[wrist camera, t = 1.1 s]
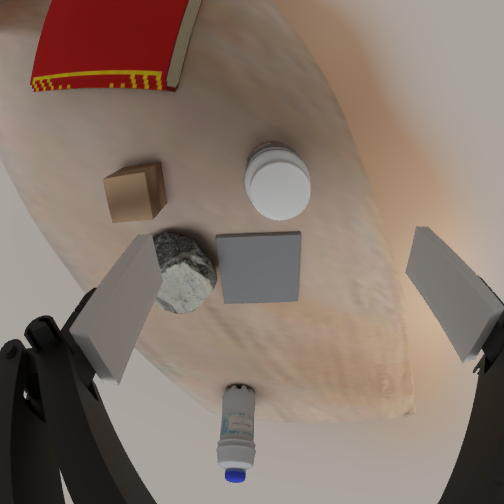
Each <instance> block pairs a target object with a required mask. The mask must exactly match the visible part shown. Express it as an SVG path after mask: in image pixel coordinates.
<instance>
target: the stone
mask: <svg viewBox="0 0 504 504" xmlns="http://www.w3.org/2000/svg"><path fill="white" fill-rule="evenodd" d="M153 242H154V246H155V251H156V255H157V259H158V263H159V267H160V271H161V275H162V279H163V283H162V285H161V287H160V289H159V291H158V293H157V296H156V298H155V300H154V303H156V304H157V305H158V306H159V307H161V308H162V309H164V310H166V311H170V312H173V313H176V314H185V313H190V312H193V311H194V310H195V309H197V308H198V307H199V306H200V305H201V304H202V303H203V301H204V300H205V299H206V298H207V297H208V295H209V294H210V293H211V292H212V290H213V289H214V287H215V284H216V282H217V273H216V270H215V268H214V267H213V266H212V264H211V262H210V259H209V258H207V257H206V256H205V255H204V254H203V253H202V252H201V250H200V249H199V248H198V246H197V243H196V241H195V240H193V239H191V238H188V237H184V236H180V235H179V234H176V233H175V234H173V233H167V232H165V233H162V234H160V235H158V236H157V237H155V238H153Z"/></svg>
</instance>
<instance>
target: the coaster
mask: <svg viewBox="0 0 504 504" xmlns="http://www.w3.org/2000/svg"><path fill="white" fill-rule="evenodd" d="M216 246H217V253H218V261H219V268H220V276H221V283H222V290H223V297H224V304H231V303H268V302H292V301H298V290H299V270H300V246H301V234H300V232H279V233H252V234H228V235H216Z"/></svg>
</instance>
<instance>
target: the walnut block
mask: <svg viewBox="0 0 504 504" xmlns="http://www.w3.org/2000/svg"><path fill="white" fill-rule="evenodd" d="M103 182H104V187H105V192H106V196H107V201H108V205H109V209H110V213H111V218H112V221H113V223H117V222H127V221H139V220H151V219H154V218H155V217H156V215H157V214H158V213H159V212H160V211H161V209H162V208H163V207H164V206H165V205H166V204H167V200H166V194H165V187H164V181H163V174H162V168H161V162H157V163H151V164H144V165H137V166H131V167H125V168H122V169H120V170H118V171H116V172H115V173H113V174H111V175H109V176H107V177H106V178H104V179H103Z"/></svg>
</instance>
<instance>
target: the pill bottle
mask: <svg viewBox="0 0 504 504" xmlns="http://www.w3.org/2000/svg"><path fill="white" fill-rule="evenodd" d="M244 184H245V190H246V193H247V195H248V197H249V199H250V200H251V202H252V204H253V206H254V207H255V208H256V210H257V211H258V212H259V213H260V214H262V215H263V216H265V217H267V218H269V219H273V220H288V219H291V218H293V217H295V216H297V215H298V214H300V213H301V212H302V211H303V210H304V209H305V208H306V206H307V204H308V202H309V200H310V196H311V186H310V174H309V171H308V169H307V167H306V165H305V163H304V162H303V161H302V160H301V158H300V157H299V156H298V155H297V154H296V153H295V152H294V151H293V149H291V148H290V147H289V146H287V145H285V144H283V143H280V142H267V143H264V144H261V145H259V146H258V147H257V148H255V149H254V150H253V151H252V153H251V154H250V156H249V158H248V162H247V166H246V172H245V177H244Z"/></svg>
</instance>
